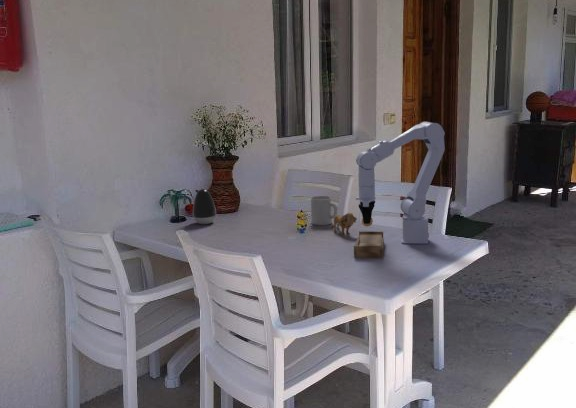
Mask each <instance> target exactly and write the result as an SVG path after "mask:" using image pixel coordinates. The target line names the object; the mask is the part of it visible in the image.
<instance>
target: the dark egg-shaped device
mask: <svg viewBox="0 0 576 408" xmlns="http://www.w3.org/2000/svg"><path fill="white" fill-rule="evenodd" d="M195 192H196V194H195V198H194V199H193V206H192V217H193V219H194V221H195V222H196V223H197V224H199V225H210V224H211V223H212V224H213V222H214V221H215V219H216V216H217V209H216V205H215V202H214V200H213V197H212V195H211V193H210V192H209V190H207V189H205V188H201V189H195Z"/></svg>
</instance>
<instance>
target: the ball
mask: <svg viewBox="0 0 576 408" xmlns="http://www.w3.org/2000/svg"><path fill="white" fill-rule="evenodd" d="M373 221H374V220H373V218H372V217H371V221H370V224H364V222H363V217H362V218H361V224H362V225H363V226H364V227H370V226H371V225H373Z"/></svg>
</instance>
